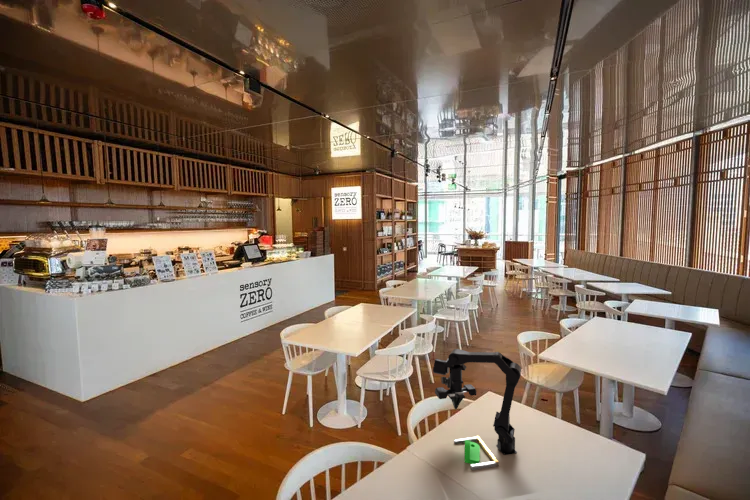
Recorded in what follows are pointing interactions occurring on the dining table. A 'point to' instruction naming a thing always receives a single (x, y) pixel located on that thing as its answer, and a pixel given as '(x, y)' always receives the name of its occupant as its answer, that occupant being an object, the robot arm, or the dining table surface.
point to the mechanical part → (472, 452)
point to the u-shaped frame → (485, 448)
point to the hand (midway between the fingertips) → (455, 408)
